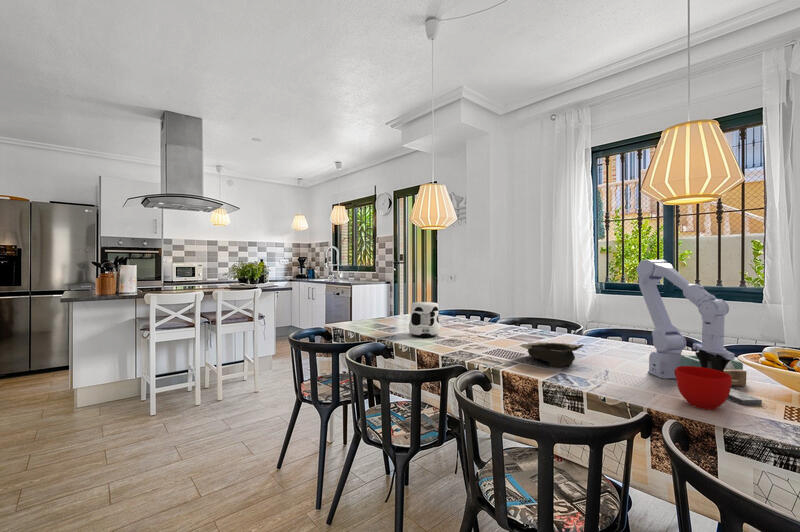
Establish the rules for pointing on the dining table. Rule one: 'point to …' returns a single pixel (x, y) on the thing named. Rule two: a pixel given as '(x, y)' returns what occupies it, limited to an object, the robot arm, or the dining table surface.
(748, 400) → the rail
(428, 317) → the milk container
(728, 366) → the die
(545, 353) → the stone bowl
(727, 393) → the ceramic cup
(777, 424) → the dining table surface
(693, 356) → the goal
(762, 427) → the dining table surface
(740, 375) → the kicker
